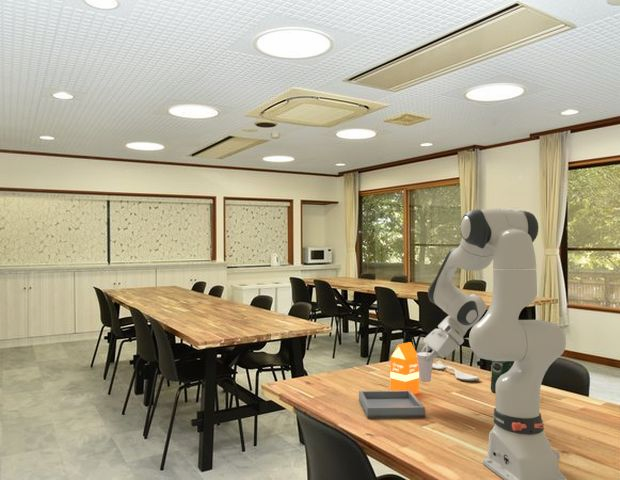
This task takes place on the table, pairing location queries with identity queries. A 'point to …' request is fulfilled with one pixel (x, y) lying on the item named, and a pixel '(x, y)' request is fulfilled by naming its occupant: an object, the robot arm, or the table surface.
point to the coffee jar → (499, 371)
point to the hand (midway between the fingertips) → (423, 358)
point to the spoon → (457, 373)
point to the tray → (391, 404)
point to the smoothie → (424, 366)
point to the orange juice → (404, 369)
